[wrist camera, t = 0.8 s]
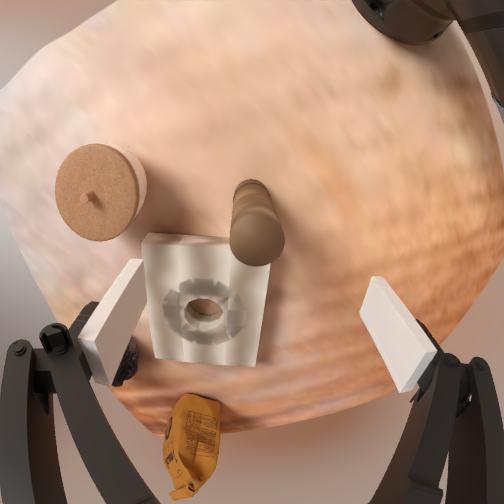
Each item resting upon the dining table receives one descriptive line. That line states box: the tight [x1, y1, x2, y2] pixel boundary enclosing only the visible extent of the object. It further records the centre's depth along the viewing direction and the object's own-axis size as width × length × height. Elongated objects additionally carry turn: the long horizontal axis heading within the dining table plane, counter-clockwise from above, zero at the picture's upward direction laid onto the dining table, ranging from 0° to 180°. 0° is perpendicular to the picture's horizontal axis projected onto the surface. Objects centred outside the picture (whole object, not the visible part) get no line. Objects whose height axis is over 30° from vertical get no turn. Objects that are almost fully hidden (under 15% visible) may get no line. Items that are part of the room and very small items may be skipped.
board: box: [141, 232, 271, 367], centre depth 39 cm, size 16×20×4 cm
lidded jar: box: [55, 143, 147, 241], centre depth 28 cm, size 11×11×9 cm
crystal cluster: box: [112, 337, 139, 387], centre depth 40 cm, size 13×14×10 cm
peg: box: [229, 179, 285, 267], centre depth 27 cm, size 4×4×15 cm
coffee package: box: [163, 393, 221, 500], centre depth 42 cm, size 10×12×22 cm
